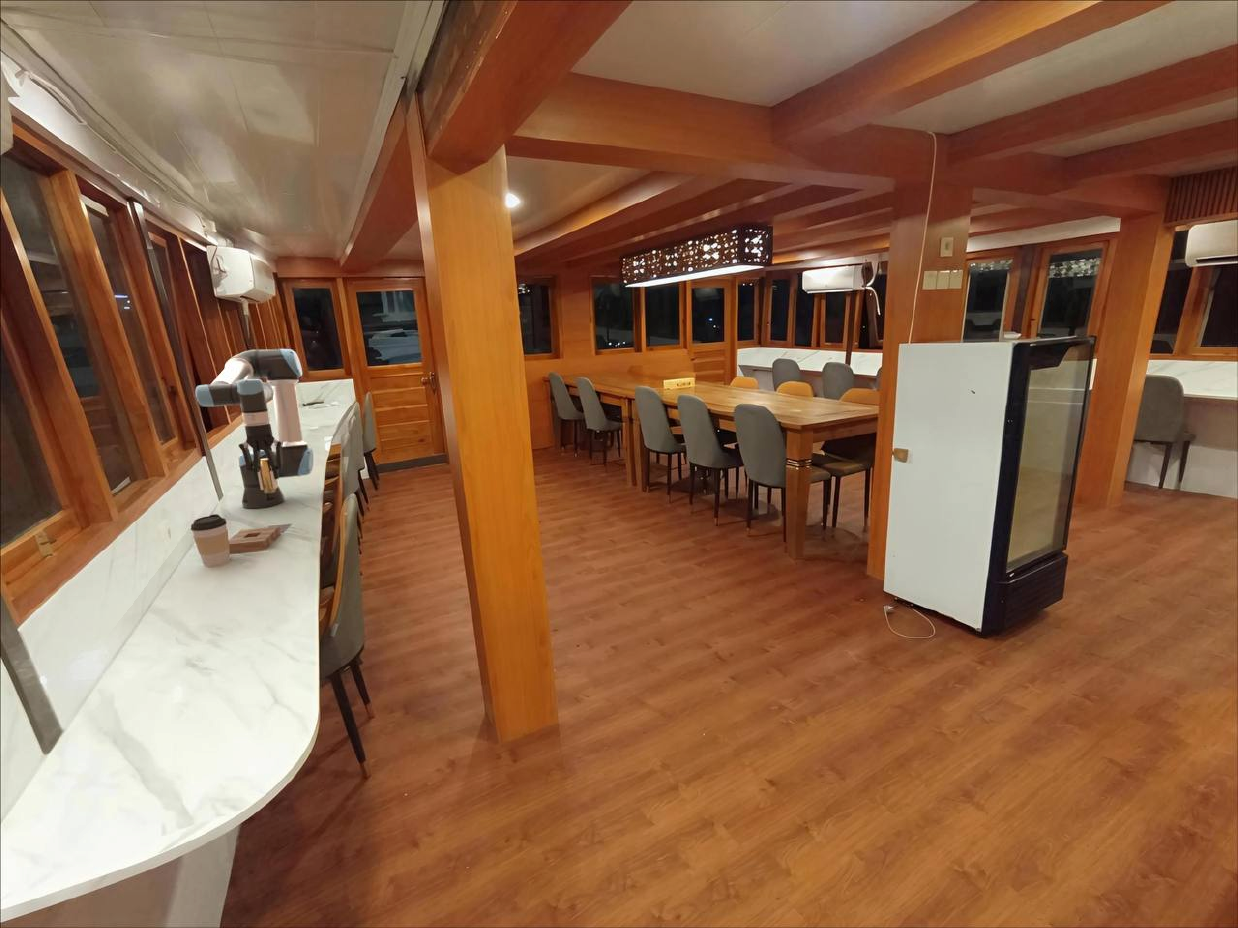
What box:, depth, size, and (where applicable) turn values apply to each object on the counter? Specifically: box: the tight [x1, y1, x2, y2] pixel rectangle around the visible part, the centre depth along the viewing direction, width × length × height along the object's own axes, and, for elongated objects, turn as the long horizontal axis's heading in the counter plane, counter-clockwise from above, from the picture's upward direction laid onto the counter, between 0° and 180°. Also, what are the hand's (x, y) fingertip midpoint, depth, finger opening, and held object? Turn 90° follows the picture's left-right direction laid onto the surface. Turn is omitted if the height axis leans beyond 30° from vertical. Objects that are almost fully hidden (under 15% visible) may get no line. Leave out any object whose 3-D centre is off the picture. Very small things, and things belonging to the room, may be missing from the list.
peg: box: [259, 459, 275, 493], centre depth 188 cm, size 3×3×12 cm
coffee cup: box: [190, 513, 231, 568], centre depth 167 cm, size 9×9×15 cm
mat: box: [267, 523, 292, 534], centre depth 195 cm, size 10×8×1 cm
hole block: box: [229, 526, 282, 554], centre depth 182 cm, size 14×12×4 cm
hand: (269, 488), depth 189 cm, fingers closed on peg, 3 cm apart
